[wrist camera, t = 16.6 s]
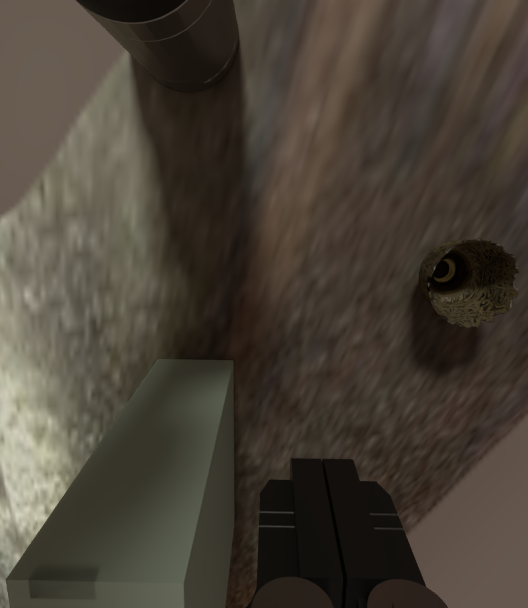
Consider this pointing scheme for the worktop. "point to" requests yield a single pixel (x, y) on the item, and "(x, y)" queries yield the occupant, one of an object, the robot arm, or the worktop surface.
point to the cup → (470, 281)
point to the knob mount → (145, 504)
